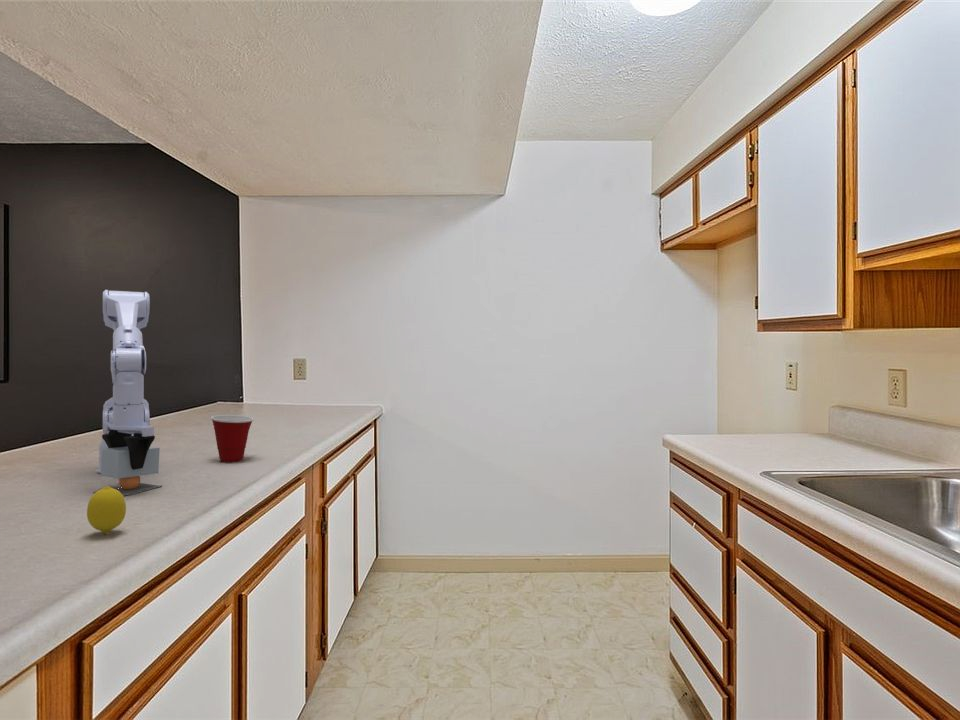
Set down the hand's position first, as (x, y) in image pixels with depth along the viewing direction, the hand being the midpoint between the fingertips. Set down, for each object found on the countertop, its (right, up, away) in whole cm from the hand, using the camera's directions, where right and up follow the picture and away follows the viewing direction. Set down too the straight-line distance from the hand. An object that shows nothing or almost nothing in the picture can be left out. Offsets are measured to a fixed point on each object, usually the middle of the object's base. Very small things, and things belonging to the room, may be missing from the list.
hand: (128, 467), depth 129 cm
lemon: (+13, -6, -29) cm, 32 cm away
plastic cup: (+9, -4, +33) cm, 35 cm away
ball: (0, -3, 0) cm, 3 cm away
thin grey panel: (0, -5, 0) cm, 5 cm away
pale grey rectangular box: (0, -2, 0) cm, 2 cm away
